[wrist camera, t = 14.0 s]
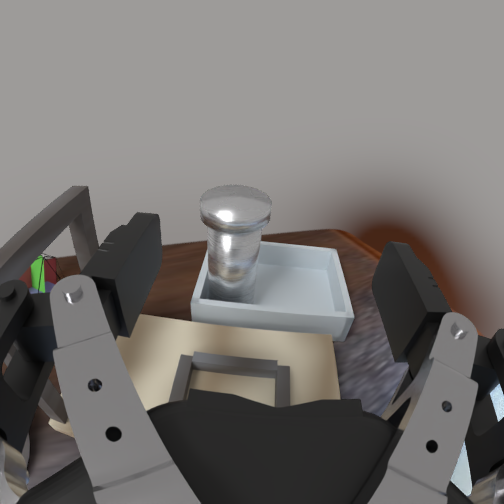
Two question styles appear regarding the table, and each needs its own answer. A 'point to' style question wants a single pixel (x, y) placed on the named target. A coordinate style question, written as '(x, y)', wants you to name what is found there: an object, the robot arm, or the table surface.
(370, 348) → the table surface
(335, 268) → the tray
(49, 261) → the geometric puzzle
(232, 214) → the pin
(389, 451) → the robot arm
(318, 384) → the dolly
